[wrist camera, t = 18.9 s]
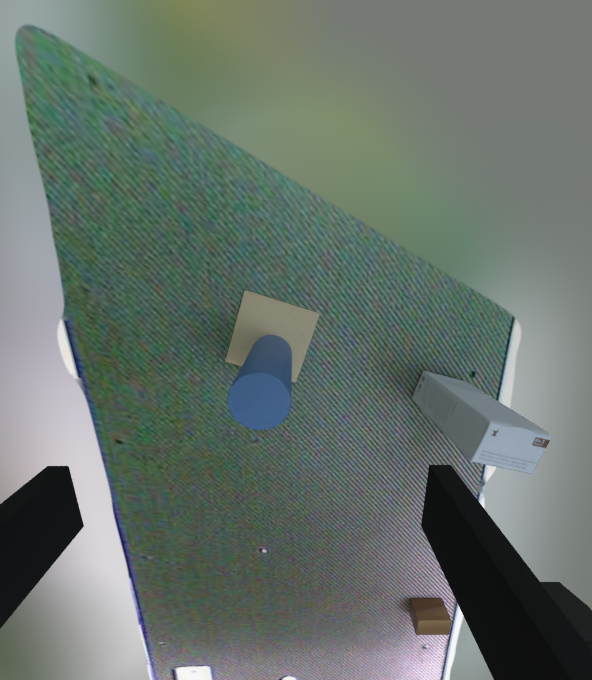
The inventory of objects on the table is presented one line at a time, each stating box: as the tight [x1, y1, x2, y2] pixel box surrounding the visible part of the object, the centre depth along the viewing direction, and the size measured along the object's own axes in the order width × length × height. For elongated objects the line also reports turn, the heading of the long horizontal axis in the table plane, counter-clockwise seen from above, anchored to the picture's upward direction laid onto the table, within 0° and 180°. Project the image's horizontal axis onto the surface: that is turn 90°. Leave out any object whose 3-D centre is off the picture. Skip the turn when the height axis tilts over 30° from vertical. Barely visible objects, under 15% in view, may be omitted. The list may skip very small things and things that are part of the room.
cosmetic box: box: [412, 371, 552, 474], centre depth 30 cm, size 6×4×12 cm
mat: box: [225, 290, 320, 382], centre depth 33 cm, size 9×9×1 cm
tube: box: [228, 335, 292, 430], centre depth 28 cm, size 12×5×5 cm
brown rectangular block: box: [409, 598, 451, 635], centre depth 44 cm, size 3×5×3 cm, turn 90°
